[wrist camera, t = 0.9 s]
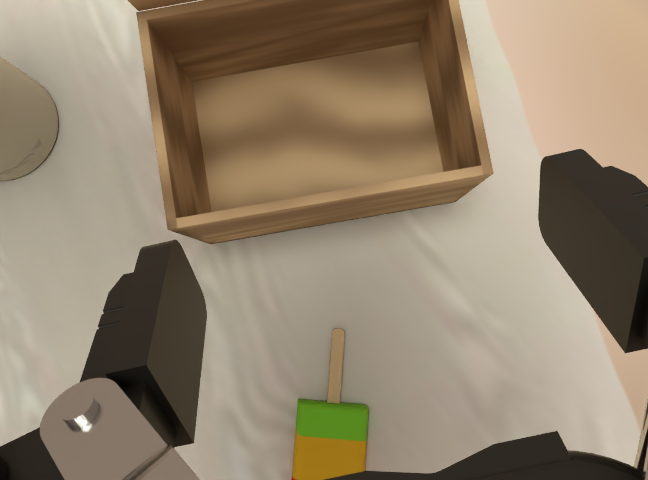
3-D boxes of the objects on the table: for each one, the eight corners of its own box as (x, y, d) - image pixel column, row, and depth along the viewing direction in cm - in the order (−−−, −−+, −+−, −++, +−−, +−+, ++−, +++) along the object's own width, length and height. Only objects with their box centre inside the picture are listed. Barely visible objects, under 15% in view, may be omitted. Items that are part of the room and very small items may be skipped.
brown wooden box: (455, 201, 44) (493, 173, 33) (210, 244, 44) (167, 229, 33) (423, 36, 45) (449, -44, 34) (185, 78, 45) (136, 12, 34)
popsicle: (289, 518, 43) (287, 529, 41) (304, 324, 44) (303, 326, 42) (360, 524, 42) (361, 535, 41) (373, 330, 44) (374, 332, 42)
